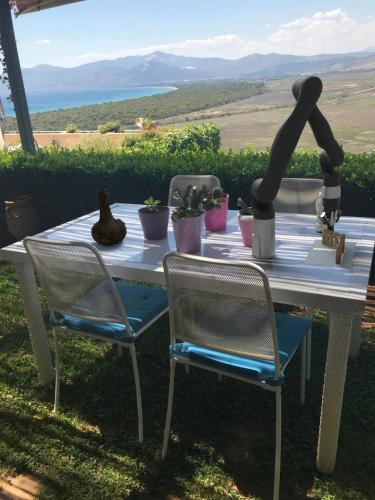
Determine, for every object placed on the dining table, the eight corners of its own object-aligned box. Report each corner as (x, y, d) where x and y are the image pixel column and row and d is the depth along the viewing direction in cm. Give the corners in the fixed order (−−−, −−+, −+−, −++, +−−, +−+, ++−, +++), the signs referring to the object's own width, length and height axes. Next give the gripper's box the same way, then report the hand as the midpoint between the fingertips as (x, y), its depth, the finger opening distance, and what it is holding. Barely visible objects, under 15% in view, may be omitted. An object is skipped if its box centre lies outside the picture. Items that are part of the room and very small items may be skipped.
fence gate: (345, 250, 178) (346, 235, 175) (341, 251, 177) (342, 235, 175) (324, 242, 189) (324, 227, 187) (320, 243, 188) (321, 228, 186)
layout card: (350, 268, 161) (350, 267, 161) (303, 264, 169) (303, 263, 169) (356, 243, 187) (356, 242, 187) (315, 240, 195) (315, 239, 195)
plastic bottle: (329, 233, 202) (331, 193, 195) (315, 233, 203) (316, 193, 197) (328, 229, 208) (330, 190, 201) (314, 230, 209) (315, 191, 203)
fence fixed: (340, 264, 164) (341, 246, 162) (335, 264, 165) (336, 246, 163) (343, 252, 177) (344, 235, 174) (339, 252, 178) (339, 235, 175)
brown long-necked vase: (131, 245, 208) (124, 190, 198) (95, 251, 202) (86, 195, 193) (124, 235, 224) (117, 184, 214) (91, 241, 218) (82, 188, 209)
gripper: (327, 200, 175) (326, 238, 181) (348, 193, 181) (347, 231, 187) (313, 197, 181) (313, 234, 187) (334, 191, 187) (334, 227, 193)
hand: (330, 233), depth 187 cm, fingers closed
